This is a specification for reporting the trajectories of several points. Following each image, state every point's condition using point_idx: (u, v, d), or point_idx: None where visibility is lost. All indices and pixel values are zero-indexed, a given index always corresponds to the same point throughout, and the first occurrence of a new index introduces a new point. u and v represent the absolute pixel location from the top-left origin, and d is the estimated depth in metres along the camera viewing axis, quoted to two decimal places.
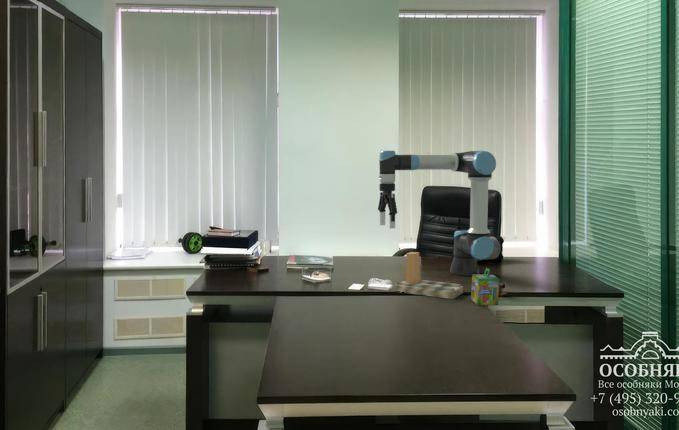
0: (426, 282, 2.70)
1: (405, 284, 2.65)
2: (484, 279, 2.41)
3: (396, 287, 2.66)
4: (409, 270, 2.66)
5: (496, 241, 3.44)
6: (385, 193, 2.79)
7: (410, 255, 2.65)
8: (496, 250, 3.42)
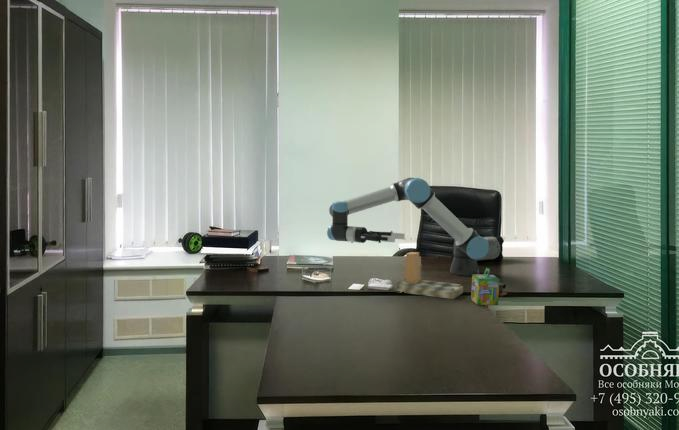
0: (426, 282, 2.70)
1: (405, 284, 2.65)
2: (484, 279, 2.41)
3: (396, 287, 2.66)
4: (409, 270, 2.66)
5: (496, 241, 3.44)
6: None
7: (410, 255, 2.65)
8: (496, 250, 3.43)
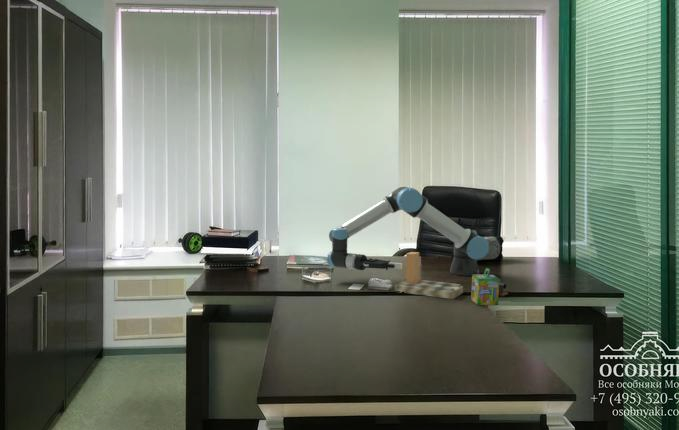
0: (426, 282, 2.70)
1: (405, 284, 2.65)
2: (484, 279, 2.41)
3: (396, 287, 2.66)
4: (409, 270, 2.66)
5: (496, 241, 3.45)
6: None
7: (410, 255, 2.65)
8: (496, 250, 3.43)
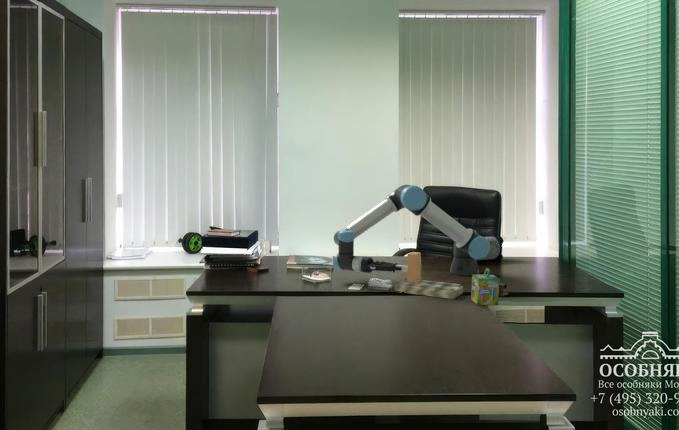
0: (426, 282, 2.70)
1: (405, 284, 2.65)
2: (484, 279, 2.41)
3: (396, 287, 2.66)
4: (411, 270, 2.65)
5: (496, 241, 3.45)
6: None
7: (411, 255, 2.64)
8: (496, 250, 3.43)
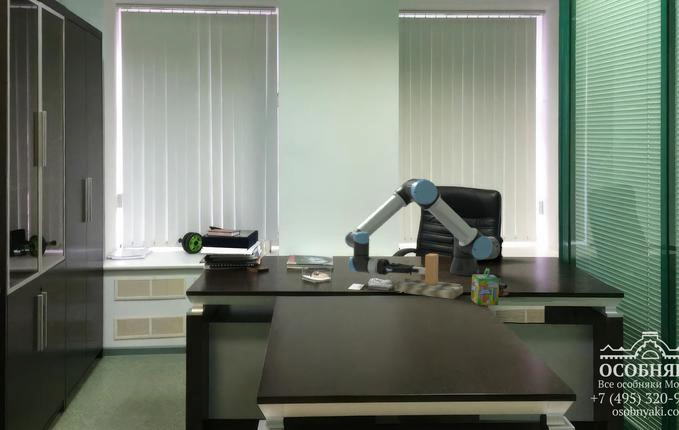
0: None
1: (405, 284, 2.65)
2: (484, 279, 2.41)
3: (396, 287, 2.66)
4: (428, 272, 2.61)
5: (495, 241, 3.45)
6: None
7: (429, 257, 2.60)
8: (496, 250, 3.43)
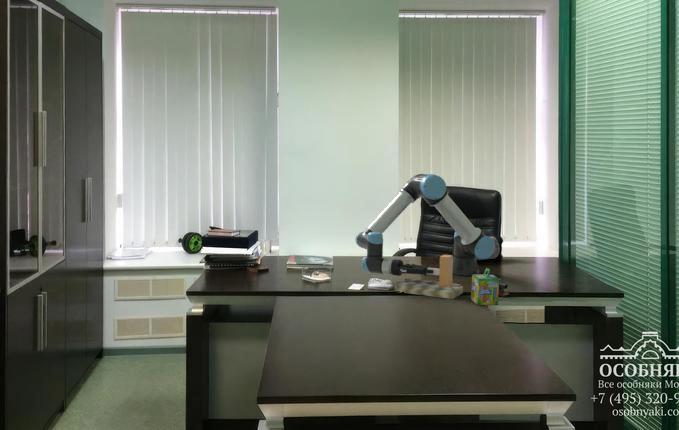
0: (426, 282, 2.70)
1: (405, 284, 2.65)
2: (484, 279, 2.41)
3: (396, 287, 2.66)
4: (443, 274, 2.58)
5: (495, 241, 3.45)
6: None
7: (444, 258, 2.57)
8: (495, 250, 3.43)
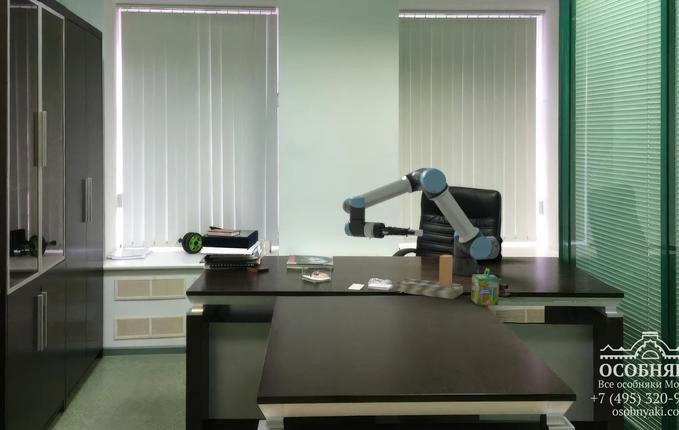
0: (426, 282, 2.70)
1: (405, 284, 2.65)
2: (484, 279, 2.41)
3: (396, 287, 2.66)
4: (443, 274, 2.58)
5: (495, 241, 3.45)
6: None
7: (444, 258, 2.57)
8: (495, 250, 3.44)
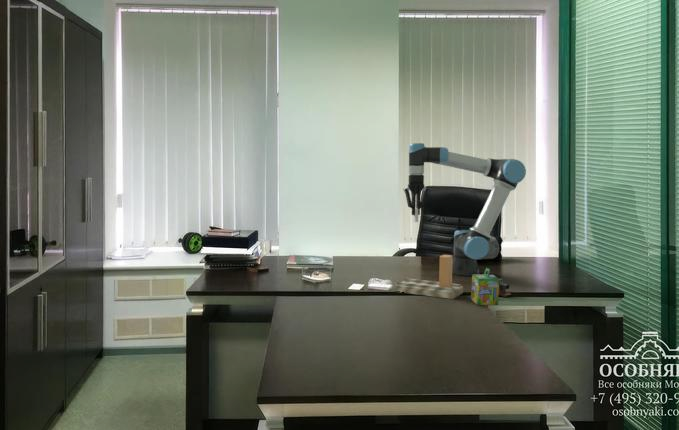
0: (426, 282, 2.70)
1: (405, 284, 2.65)
2: (484, 279, 2.41)
3: (396, 287, 2.66)
4: (443, 274, 2.58)
5: (495, 241, 3.46)
6: None
7: (444, 258, 2.57)
8: (495, 250, 3.44)
